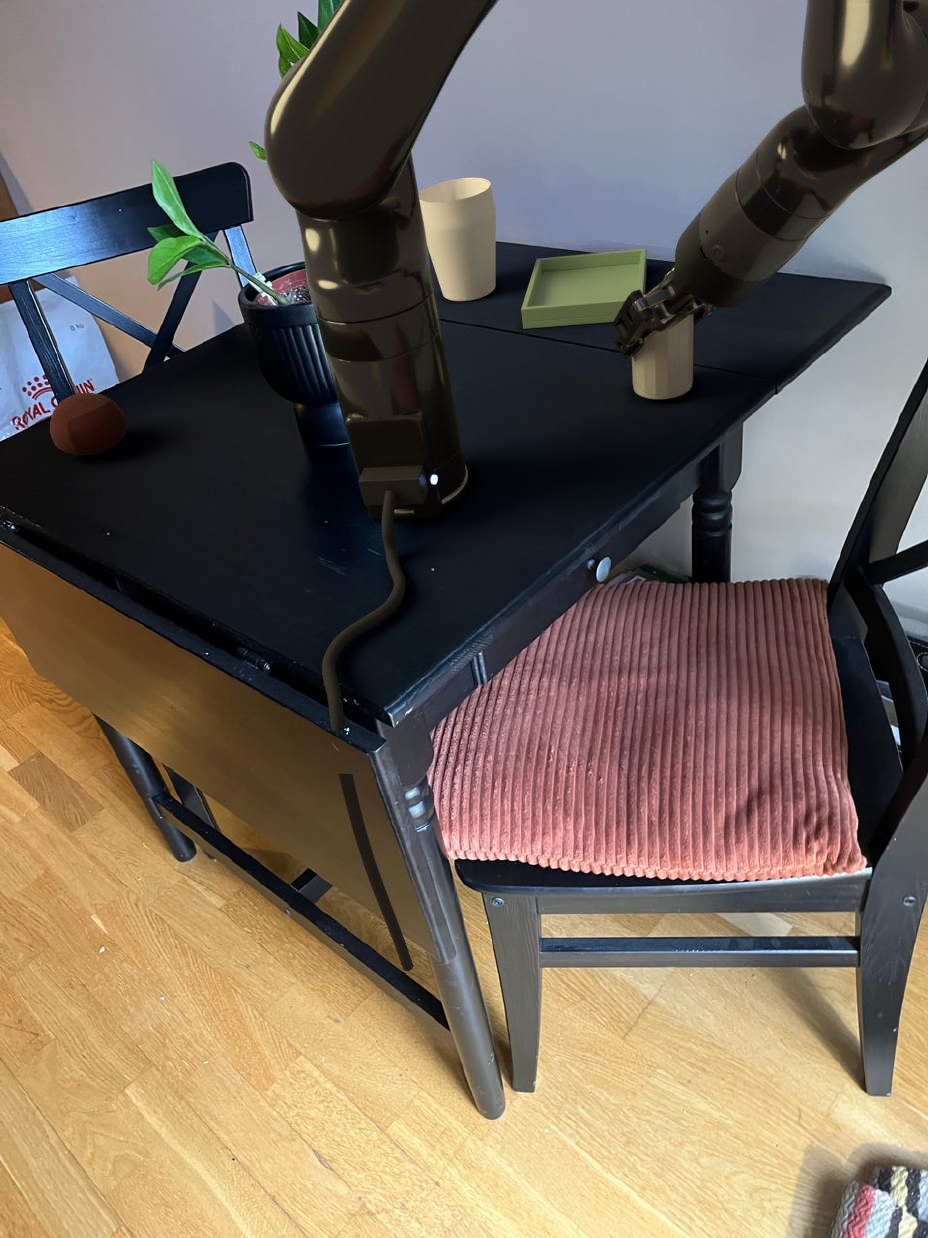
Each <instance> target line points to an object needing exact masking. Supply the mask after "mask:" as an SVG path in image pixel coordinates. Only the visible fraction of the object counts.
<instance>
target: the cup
mask: <svg viewBox="0 0 928 1238" xmlns="http://www.w3.org/2000/svg"><path fill="white" fill-rule="evenodd" d="M418 193H419V199H420V205H421V211H422V216H423V221H424V227H425V233H426V240H427V248H428V254H429V257H430V259H431V262H432V265H433V268H434V271H435V274H436V277H437V281H438V284H439V287H440V291H441V293H442V296H443V297H444V298H445V299H447V300H449V301H452V302H469V301H474V300H478V299H481V298H484V297H486V296H487V295H489V294H491V293H492V292H493V291H494V290H495V289H496V273H497V272H496V263H497V261H496V259H497V258H496V255H497V251H496V250H497V249H496V248H497V247H496V245H497V243H496V241H497V239H496V238H497V235H496V234H497V233H496V232H497V231H496V228H497V227H496V226H497V215H496V214H497V212H496V211H497V210H496V204H495V200H494V196H493V195H494V194H493V189H492V183H491V182H490V180H488V179H486V178H482V177H461V178H453V179H449V180H444V181H440V182H437V183H434V184H431V185H429V186H426V187H425V188H423V189H422V190H420V191H418Z"/></svg>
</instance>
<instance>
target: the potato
mask: <svg viewBox="0 0 928 1238" xmlns="http://www.w3.org/2000/svg"><path fill="white" fill-rule="evenodd" d="M126 422H127V421H126V417H125V415H124V412H123V410H122V409H121V408H120V406H119V404H117V402H116V401H114V400H112V399H111V398H109V397H108V396H106V395H104V394H99V393H94V392H82V393H77V394H72V395H69V396H67V397H65V398H64V399H63V400H61V401H60V402H58V404H57V405H56V406H55V408H54V409H53V411H52V414H51V417H50V421H49V433H50V437H51V439H52V441H53V442H52V443H53V444H54V445H55V447H56V448H57V449H58V450H60V451H62V452H64V453H67V454H70V455H75V456H84V457H85V456H96V455H99V454H101V453H106V452H109V450H111V449H113V448H114V447H117V445H119V443H121V442H122V440H123V439H124V438H125V436H126V432H127V423H126Z"/></svg>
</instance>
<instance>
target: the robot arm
mask: <svg viewBox="0 0 928 1238" xmlns="http://www.w3.org/2000/svg"><path fill="white" fill-rule="evenodd" d="M499 1H500V0H341V1H340V2H339V4H338V6H336V8H335V10H334V12H333V13H332V15H331V16H330V17H329V19H328V21H327V23H326V24H325V25H324V27H323V29H322V31H321V32H320V34H319V35H318V36H317V38H316V39H315V41H314V43H313V44H312V45H311V47H310V48H309V50H307V52H306V54H305V56H303V57H301V58H300V59H299V60H298V61H296V62H295V63H294V64H293V65H292V66H291V67H290V68H289V69H288V71H287V72H286V73H285V74H284V76H283V77H282V79H281V81H280V82H279V85H278V87H276V89H275V90H276V91H275V93H274V94H273V95H272V97H271V100H270V102H269V105H268V108H267V110H266V114H265V119H264V125H263V147H264V155H265V160H266V164H267V168H268V170H269V174H270V176H271V179H272V180H273V183H274V185H275V187H276V188H277V191H278V192H279V193H280V195H281V196H282V198H283V199H284V200H285V201H286V202H287V203H288V204H289V205H290V206H291V207H292V208H293V209H294V211H295V216H296V219H297V224H298V227H299V232H300V237H301V244H302V251H303V258H304V267H305V278H306V284H307V288H308V292H309V296H310V300H311V304H312V307H313V311H314V315H315V319H316V322H317V326H318V330H319V334H320V336H321V341H322V345H323V349H324V353H325V356H326V361H327V364H328V369H329V372H330V375H331V379H332V383H333V386H334V390H335V394H336V395H335V396H336V398H337V402H338V405H339V409H340V413H341V417H342V420H343V424H344V428H345V432H346V436H347V440H348V443H349V447H350V450H351V454H352V458H353V462H354V465H355V468H356V472H357V477H358V481H357V482H358V486H359V490H360V493H361V497H362V500H363V501H362V502H363V504H364V506H365V507H366V508H367V511H368V515H369V518H370V520H372V521H377V520H381V535H382V542H383V546H384V553H385V559H386V564H387V567H388V571H389V574H390V576H391V579H392V582H393V588H392V590H391V593H390V594H389V596H388V597H387V599H386V601H385V602H383V604H381V605H380V606H379V607H378V608H376V609H374V610H373V611H371V612H369V613H368V614H366V615H365V616H363V617H362V618H360V619H358V620H356V621H355V622H353V623H352V624H350V625H349V626H347V627H346V628H344V629H343V630H342V631H341V632H340V633H339V634H338V635H337V636H336V637H335V638H334V639H333V640H332V641H331V643H330V644H329V645H328V647H327V649H326V651H325V653H324V655H323V658H322V663H321V674H322V675H321V676H322V681H323V685H324V688H325V692H326V697H327V702H328V711H329V719H330V720H329V721H330V728H331V730H332V731H333V732H340V731H342V730H343V729H344V728H345V725H346V724H345V723H346V722H345V713H344V703H343V697H342V692H341V688H340V687H341V686H340V684H339V680H338V676H337V671H336V664H337V661H338V658H339V656H340V655H341V652H342V651H343V650H344V648H345V647H346V645H348V643H350V642H351V641H352V640H354V639H355V638H356V637H357V636H359V635H361V634H362V633H364V632H366V631H368V630H369V629H370V628H372V627H374V626H376V625H377V624H379V623H381V622H382V621H383V620H385V619H386V618H387V617H388V616H390V615H391V614H392V613H393V612H394V611H395V610H396V609H397V608H398V607H399V605H400V604H401V602H402V601H403V598H404V596H405V593H406V587H407V583H406V577H405V574H404V571H403V570H402V567H401V564H400V559H399V556H398V550H397V549H398V548H397V543H396V537H395V529H394V528H395V525H394V521H395V520H408V519H409V520H410V519H438V518H440V517H442V514H443V512H444V510H446V509H447V508H449V507H451V506H452V505H454V504H455V503H457V502H458V501H459V500H460V499H461V498H462V497H463V496H464V495H465V493H466V491H467V490H468V488H469V486H470V485H469V484H470V478H469V472H468V467H467V465H466V462H465V461H466V460H465V456H464V449H463V445H462V439H461V435H460V429H459V423H458V418H457V412H456V406H455V400H454V394H453V389H452V384H451V379H450V372H449V367H448V361H447V356H446V350H445V345H444V339H443V333H442V327H441V321H440V316H439V315H440V314H439V310H438V305H437V299H436V298H437V297H436V292H435V287H434V282H433V275H432V269H431V262H430V254H429V250H428V247H427V240H426V233H425V227H424V221H423V216H422V211H421V205H420V199H419V187H418V182H417V177H416V172H415V171H416V170H415V164H414V158H413V153H412V151H413V149H414V147H415V145H416V143H417V141H418V138H419V136H420V134H421V131H422V130H423V128H424V126H425V123H426V122H427V119H428V117H429V115H430V113H431V112H432V109H433V108H434V106H435V103H436V101H437V100H438V98H439V96H440V93H441V92H442V90H443V89H444V86H445V84H446V82H447V80H448V79H449V76H450V74H451V73H452V71H453V69H454V68H455V66H456V64H457V62H458V61H459V59H460V56H461V55H462V54H463V52H464V50H465V48H466V47H467V45H468V44H469V42H470V41H471V39H472V37H474V35H475V34H476V32H477V30H478V29H479V28H480V27H481V25H482V24H483V22H484V21H485V20H486V19H487V17H488V16H489V14H490V13H491V12H492V11H493V9H494V8H495V7H496V6H497V4H498V2H499ZM804 19H805V20H804V27H803V37H802V48H801V57H800V59H801V60H800V83H801V84H800V85H801V92H802V98H803V103H804V104H803V105H801V106H798V107H797V108H794V109H793V110H791V111H790V112H789V113H788V114H786V115H785V116H784V117H782V118H781V119H779V121H777V123H776V124H775V125H774V126H773V127H771V129H770V130H769V132H767V133H766V135H765V136H764V137H763V139H762V140H761V141H760V142H759V143H758V144H757V146H756V147H755V148H754V150H753V151H752V152H751V153H750V155H748V157H747V158H746V159H745V161H744V162H743V163H742V164H741V165H740V166H739V167H738V168H737V169H736V170H735V171H733V172H732V173H731V174H730V175H729V176H728V177H727V178H726V179H725V180H724V181H723V183H722V184H721V185H720V186H719V187H718V189H717V190H716V191H715V192H714V193H713V194H712V196H711V197H710V199H709V200H708V201H707V202H706V203H705V205H704V206H703V207H702V208H701V210H700V211H699V212H698V213H697V215H696V216H695V217H694V218H693V219H692V221H690V223H689V225H687V227H686V228H685V229H684V231H683V232H682V233H681V235H680V236H679V238H678V241H677V243H676V247H675V253H674V266H673V268H671V270H669V271H668V272H666V274H665V275H664V278H663V280H662V281H660V283H658V284H657V285H655V287H653V288H652V289H651V290H649V292H647V293H645V296H644V295H643V294H642V292H641V290H636V291H633V292H631V293H630V295H629V296H628V297H627V299H626V300H625V302H624V304H623V306H622V307H621V309H620V311H619V312H618V314H617V316H616V318H615V319H614V321H613V322H612V324H613V326H614V327H615V328H616V330H617V332H618V335H617V336H616V338H615V340H614V344H615V346H616V348H617V349H618V351H619V354H620V356H622V357H623V358H624V359H625V360H628V359H630V358H632V357H633V356H634V355H635V354H636V353H637V352H638V351H639V350H640V349H641V348H642V346H643V345H644V344H645V343H646V342H647V341H648V340H649V339H650V338H651V337H652V336H654V335H655V334H656V333H657V332H663V331H668V330H670V329H672V328H673V327H674V326H676V325H677V324H678V323H679V322H681V321H682V320H683V319H685V318H686V317H687V316H688V315H693V328H694V327H695V326H696V325H697V324H698V323H699V322H700V321H701V320H702V319H704V318H709V317H710V316H711V315H713V314H714V313H715V311H717V310H719V309H720V308H722V309H723V308H732V307H736V306H739V305H742V304H744V303H746V302H747V301H748V300H749V299H751V298H752V297H753V296H754V295H755V294H756V293H757V292H758V291H759V290H761V288H762V287H763V286H764V285H765V284H766V283H768V282H769V281H770V280H771V279H772V278H773V276H775V275H776V274H777V273H778V272H779V271H780V270H781V269H782V268H783V267H784V266H785V265H786V264H787V263H789V261H791V260H792V258H794V257H795V256H796V255H797V253H799V252H800V250H801V249H802V248H803V247H804V246H805V244H806V243H807V241H808V240H809V238H810V237H811V236H812V235H813V234H814V232H816V231H817V230H818V229H819V228H820V227H821V226H822V225H823V224H824V223H825V222H826V221H827V220H828V219H829V218H830V217H831V216H832V215H833V214H834V213H835V212H836V211H838V210H839V208H841V207H842V206H843V205H844V203H846V201H847V200H848V199H849V198H850V197H851V195H852V194H853V193H855V192H856V191H857V190H859V188H861V187H862V186H864V184H865V185H866V183H868V182H869V181H870V180H871V179H873V178H875V177H876V176H877V175H879V174H881V173H882V172H883V171H885V170H886V169H887V168H889V167H890V166H892V165H893V164H895V163H896V162H898V161H899V160H900V159H902V158H903V157H905V156H906V155H907V154H909V153H910V152H911V151H913V150H914V149H916V148H917V147H919V146H920V145H922V143H924V142H925V141H927V140H928V0H807V1H806V9H805V18H804ZM662 304H663V305H664V307H665V309H666V310H667V312H668V313H669V314H670V315H673V316H672V317H671V318H669V319H668V318H667V316H666V314H665V312H664V310H663V308H662V306H661V305H662ZM650 322H653V325H652V326H651V327H650V328H649V329H648V328H647V326H648V325H649V323H650ZM338 778H339V782H340V786H341V791H342V794H343V798H344V802H345V806H346V810H347V814H348V818H349V821H350V824H351V829H352V832H353V835H354V839H355V842H356V847H357V849H358V852H359V856H360V858H361V861H362V864H363V867H364V870H365V873H366V875H367V878H368V881H369V883H370V886H371V889H372V891H373V895H374V897H375V899H376V902H377V904H378V907H379V909H380V912H381V914H382V917H383V919H384V922H385V924H386V927H387V929H388V932H389V934H390V937H391V940H392V943H393V945H394V947H395V951H396V953H397V956H398V958H399V961H400V964H401V967H402V970H403V971H404V972H411V970H413V968H414V963H413V960H412V957H411V954H410V951H409V948H408V946H407V942H406V940H405V937H404V934H403V932H402V928H401V926H400V924H399V921H398V919H397V916H396V913H395V910H394V908H393V905H392V903H391V899H390V898H389V894H388V891H387V890H386V887H385V883H384V880H383V878H382V876H381V872H380V870H379V866H378V865H377V861H376V858H375V855H374V852H373V849H372V845H371V842H370V839H369V835H368V832H367V828H366V824H365V820H364V817H363V816H364V815H363V813H362V808H361V804H360V800H359V797H358V792H357V789H356V783H355V779H354V775H353V773H338Z"/></svg>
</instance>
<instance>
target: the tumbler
mask: <svg viewBox="0 0 928 1238" xmlns="http://www.w3.org/2000/svg"><path fill="white" fill-rule="evenodd" d="M645 295H646V294H645ZM645 295H644V296H645ZM661 306H662V308H663V310H664V312H665V314H666V316H667V318H668V319H669V318H671V317H672V316H673V315H670V314H669V313H668V312H667V310H666V309H665V307H664V305H663V304H662V305H661ZM652 325H653V322H650V323H649V325H648V326H647V328H648V329H649V328H650V327H651V326H652ZM631 364H632V365H631V367H632V368H631V369H632V387H633V391H634V392H635V394H637V395H638V396H640V397H643V398H645V399H650V400H668V399H669V400H670V399H673V398H677V397H680V396H683V395H685V394H686V393H688V392H689V391H690V390H691V389H692V387H693V384H694V383H693V382H694V327H693V315H688V316H687V317H686V318H685V319H683V320H682V321H681V322H679V323H678V324H677V325H676V326H674V327H673V328H672V329H670V330H668V331H663V332H657V333H656V334H655V335H654V336H652V337H651V338H650V339H649V340H648V341H647V342H646V343H645V344H644V345H643V346H642V348H641V349H640V350H639V351H638V352H637V353H636V354H635V355H634V356H633V357H631Z"/></svg>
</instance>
